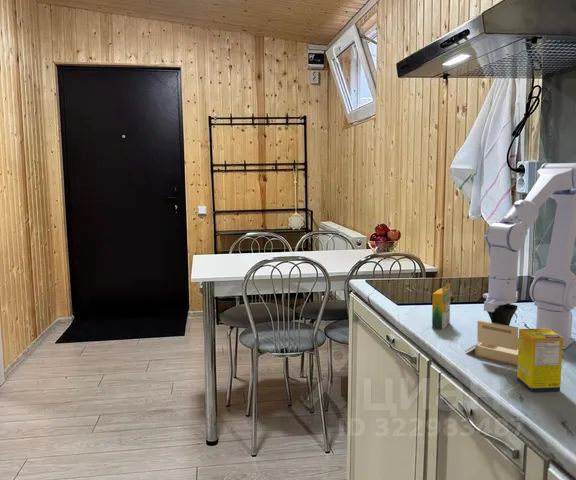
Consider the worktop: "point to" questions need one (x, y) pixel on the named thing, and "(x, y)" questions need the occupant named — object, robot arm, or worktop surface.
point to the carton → (496, 353)
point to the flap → (497, 334)
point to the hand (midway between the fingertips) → (500, 336)
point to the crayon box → (441, 308)
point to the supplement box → (539, 359)
